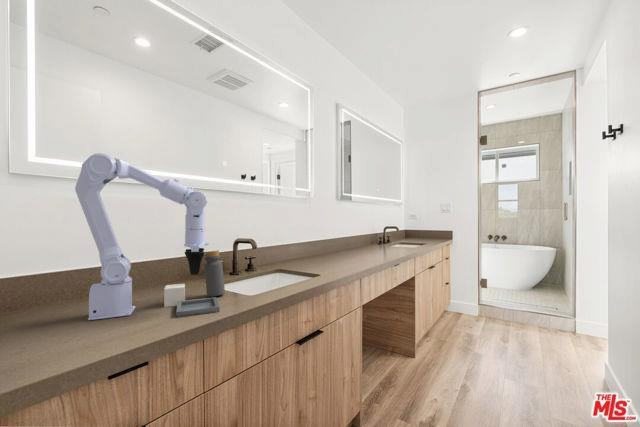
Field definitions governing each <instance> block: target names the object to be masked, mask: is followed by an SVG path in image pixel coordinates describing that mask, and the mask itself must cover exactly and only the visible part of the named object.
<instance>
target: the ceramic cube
mask: <svg viewBox="0 0 640 427" xmlns="http://www.w3.org/2000/svg"><path fill="white" fill-rule="evenodd" d="M163 290H164V291H163V292H164V296H163V298H164V300H163V303H164V304H163V305H164V306H163V307H164V308H168V307H177V305H178V301H186V283H176V284H175V283H174V284H167V285H165V287H164V289H163Z"/></svg>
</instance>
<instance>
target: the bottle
mask: <svg viewBox="0 0 640 427" xmlns="http://www.w3.org/2000/svg"><path fill="white" fill-rule="evenodd" d="M204 252H205V254H204V255H205V257H204V260H205V261H206V263H205V264H204V266H203V267H204V276H205V279H204V280H205V288H206V296H207V298H213V297H217V296H222V295H224V294H225V293H226V289H225V279H224V270H223V263H222V262H221V261H220V259H221V255H220V250H219V249H218V250H217V249H216V250H211V251H204Z"/></svg>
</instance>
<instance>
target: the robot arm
mask: <svg viewBox="0 0 640 427" xmlns="http://www.w3.org/2000/svg"><path fill="white" fill-rule="evenodd" d="M117 177H118V179H120V180H122V179H124V180H125V179H132V180H134V181H136V182H139V183H142V184H143V185H146V186H148V187H151V188H154V189H156V190H158V191H159V194H160V196H161V197H162V198H163V197H164V198H166V199H168V200H170V201H172V202H175V203H177V204H179V205H181V206H182V205H184V206H185V208H186V211H185V212H186V214H185V222H184V223H185V224H184V225H185V226H184V227H185V228H184V230H185V231H184V235H185V236H184V244H183V245H184V247H185V248H186V247H187V248H186V249H185V251H184V255H185V257H186V260H187V263H188V266H189V272H190V276H197V275H199V273H200V269H201V263H202V261H203V258H204V255H205V252H206V251H205V248H204V247H206V246H209V242H205V240H206V239H205V238H206V237H205V236H206V235H205V233H206V214H205V213H206V210H205V207H206V206H207V203H208V201H207V198H206V196H205V194H204V193H203V192H201V191H194V189H195V188H194V187H192V186H191V187H188V186H186V185H184V184H181V183H180V182H179V179H178V180H177V179H171V178H169V179H165V180H163V179H161V178H159V177H157V176H155V175H153V174H151V173H149V172H147V171H145V170H143V169H141V168H140V167H138V166H135V165H134V164H132V163H129V162H127V161H125V160H121V159H119V158H116V157H114V158H113V157H112V156H110V155H108V154H106V153H102V152H97V153H94V154H92V155H90V156H89V157H88V158H87V159H86V160H84V162H83V163H82V164H81V168H80V173H79V175H78V178H77V181H76V184H75V187H74V190H75V193H76V196H77V198H78V201H79V204H80V206H81V210H82V211H83V214H84V217H85V219H86V222H87V224H88V227H89V230H90V233H91V235H92V238H93V240H94V242H95V245H96V248H97V251H98V253H99V254H98V255H99V261H100V263H101V267H100V268H101V269H100V277H101V278H102V279H101V280H100V282H99V283H93V284H92V285H91V286H90V288H89V293H88V318H87V321H93V320H102V319H111V318H117V317H118V318H120V317H128V316H131V315H132V314H133V312H134V310H135V309H136V305H133V278H132V277H131V276H130V275H129V273H130V271H131V269H132V263H131V260H129V259H128V258H127V257H126V256H125V254H124V252H123V250H122V248H121V247H120V245H119V242H118V240H117V237H116V234H115V231H114V228H113V226H112V223H111V221H110V218H109V215H108V213H107V211H106V207H105V205H104V202H103V200H102V197H101V194H100V192H102V190H103V189H104V188H105V186H106V185H107V184H108V183H110V182H111V181H113V180H114V179H116V178H117Z"/></svg>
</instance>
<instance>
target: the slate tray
mask: <svg viewBox="0 0 640 427" xmlns="http://www.w3.org/2000/svg"><path fill="white" fill-rule="evenodd" d="M219 304H220V303H219V301H218V298H217V296H213V297H206V298H195V299H189V300H186V299H185V301H178V305H177V306H176V312H175V316H176V318H182V317H189V316H197V315H203V314H204V315H205V314H212V313H219V312H220V305H219Z"/></svg>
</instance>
